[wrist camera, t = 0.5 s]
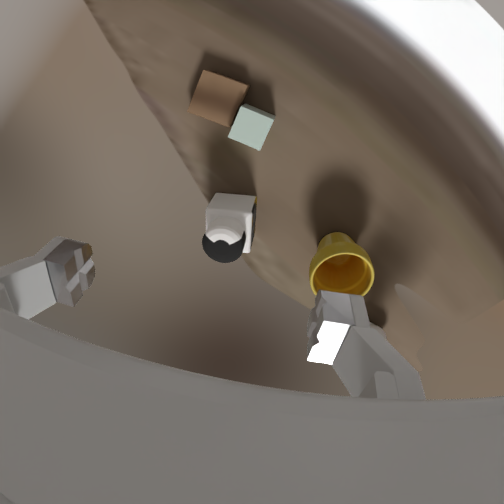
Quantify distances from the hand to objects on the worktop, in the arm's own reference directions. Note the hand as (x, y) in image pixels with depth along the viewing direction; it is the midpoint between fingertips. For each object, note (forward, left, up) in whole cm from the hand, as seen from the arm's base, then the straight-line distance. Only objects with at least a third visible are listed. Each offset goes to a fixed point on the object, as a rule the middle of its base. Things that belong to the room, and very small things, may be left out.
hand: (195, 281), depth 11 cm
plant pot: (+16, +20, -42) cm, 49 cm away
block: (0, -9, -42) cm, 43 cm away
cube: (+2, -2, -42) cm, 42 cm away
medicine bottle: (+17, +1, -42) cm, 45 cm away
